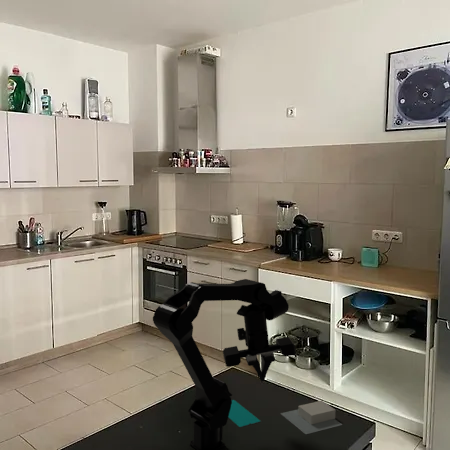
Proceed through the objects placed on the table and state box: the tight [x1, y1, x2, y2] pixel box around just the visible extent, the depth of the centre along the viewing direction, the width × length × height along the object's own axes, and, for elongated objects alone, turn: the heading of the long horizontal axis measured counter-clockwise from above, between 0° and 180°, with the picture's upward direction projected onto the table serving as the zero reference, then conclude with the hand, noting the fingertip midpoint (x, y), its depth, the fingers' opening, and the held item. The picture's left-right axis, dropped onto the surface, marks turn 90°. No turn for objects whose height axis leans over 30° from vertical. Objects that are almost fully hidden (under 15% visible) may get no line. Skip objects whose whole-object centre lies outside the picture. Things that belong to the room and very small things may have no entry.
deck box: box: [297, 400, 336, 425], centre depth 127 cm, size 3×6×8 cm
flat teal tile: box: [228, 398, 263, 429], centre depth 129 cm, size 7×1×15 cm
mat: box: [280, 408, 343, 435], centre depth 126 cm, size 12×12×1 cm
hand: (262, 380), depth 124 cm, fingers closed
